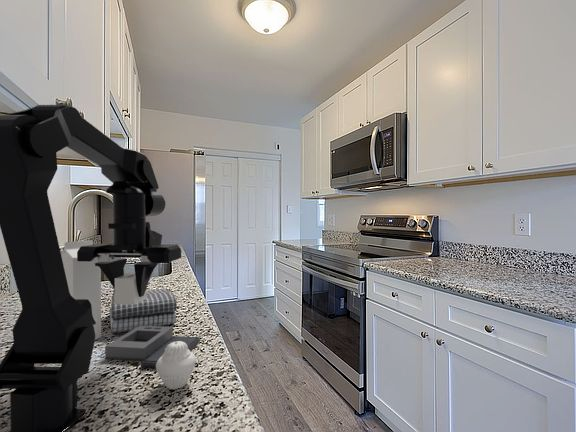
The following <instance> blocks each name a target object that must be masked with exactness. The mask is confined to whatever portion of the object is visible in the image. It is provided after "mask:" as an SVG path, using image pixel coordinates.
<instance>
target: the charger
mask: <svg viewBox="0 0 576 432" xmlns="http://www.w3.org/2000/svg"><path fill="white" fill-rule="evenodd" d="M146 291H147V290H146ZM146 291H145V294H144V296H142V297H139V295H138V291H137V284H136V276H135V273H127V274H124V275H123V276H120V277H117V278H115V304H127V305H135V304H137V303H139V302H141V301H143V300H145V299H147V296H146Z"/></svg>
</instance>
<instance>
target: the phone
mask: <svg viewBox="0 0 576 432" xmlns="http://www.w3.org/2000/svg"><path fill="white" fill-rule="evenodd" d="M176 341H182V342H185V343H186V344H187V346H188V349H189V350H190V352H192V350H194V348H196V346H198V344H199V343H200V341H201V337H200V336H180V335H179V336H178V335H173V337H172V338H171V339H169V340H168V341H167V342H166V343H164V344H163V345H162V346H161V347H159V348H158V349H157V350H156V351H154V352H153V353H152V354H151V355H149V356H148V357H147V358H146V359H144V360H143V361H140V368H142V369H153V370H156V363H157V361H158V360H159V358H160V357H161V356H162V355H163V354H164V353H165V348H166V347H167V345H168V344H170V343H172V342H176Z"/></svg>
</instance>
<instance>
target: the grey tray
mask: <svg viewBox="0 0 576 432" xmlns="http://www.w3.org/2000/svg"><path fill="white" fill-rule="evenodd" d="M173 330H174V327H173V326H138V327H137V328H135V329H133V330H132V331H127V333H125V334H124V335H121V336H120V337H118V338H116V339H115V340H113V341H112V342H110V343H108V344H107V345H105V346H104V355H105V356H104V359H106V360H119V361H120V360H122V361H140V362H142V361H143V360H144V359H146V358H147V357H148V356H149V355H151V354H152V353H153V352H154V351H156V350H157V349H158V348H159V347H161V346H162V345H163V344H164V343H166V342H167V341H168V340H169V339H171V338H172V337H173V336H174V332H173Z"/></svg>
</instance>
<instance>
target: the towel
mask: <svg viewBox="0 0 576 432" xmlns="http://www.w3.org/2000/svg"><path fill="white" fill-rule="evenodd" d="M146 296H147V299H145V300H143V301H141V302H139V303H137V304H135V305H127V304H115V290H113V292H112V298H111V306H110V307H109V322H110V323H109V325H110V331H111V333H113V334H114V333H115V334H116V333H126V332H130V331H132V330H133V329H135V328H137V327H138V326H160V327H166V326H169V325H173V324H176V323H177V313H176V311H177V308H178V304H177V299H176V296H175V294H174V293H172V292H171V291H170V290H169V289H168V288H160V289H158V288H157V289H151V290H150V289H149V290H146Z"/></svg>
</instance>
